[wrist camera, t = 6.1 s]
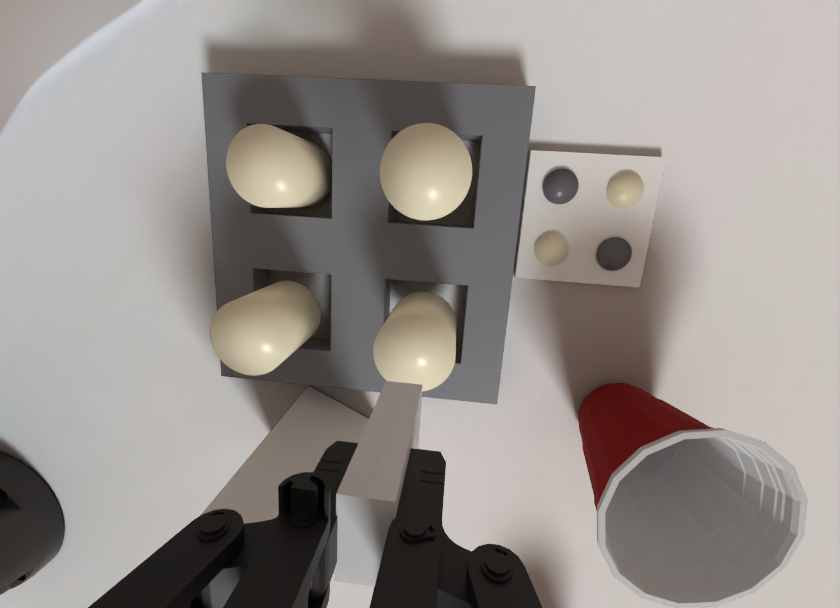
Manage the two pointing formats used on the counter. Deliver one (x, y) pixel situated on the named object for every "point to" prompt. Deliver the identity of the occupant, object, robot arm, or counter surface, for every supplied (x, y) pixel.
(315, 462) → the milk carton
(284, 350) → the cream rounded cylinder
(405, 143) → the cream domed cylinder
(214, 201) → the board
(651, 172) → the card
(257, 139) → the cream rounded cylinder
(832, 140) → the counter surface
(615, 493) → the plastic cup
